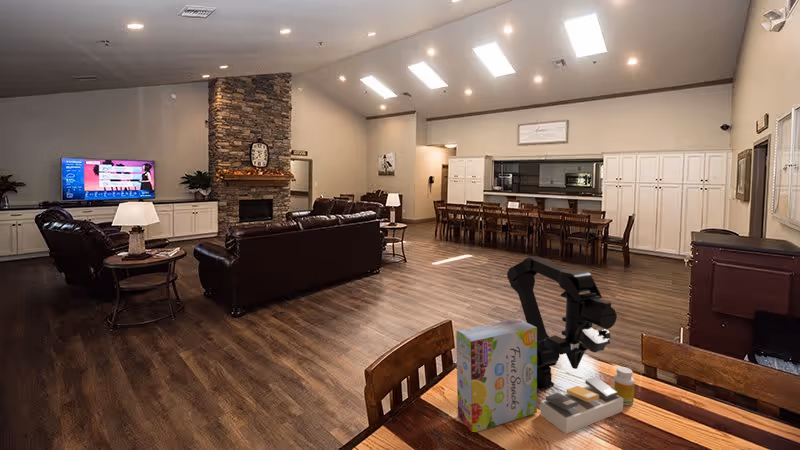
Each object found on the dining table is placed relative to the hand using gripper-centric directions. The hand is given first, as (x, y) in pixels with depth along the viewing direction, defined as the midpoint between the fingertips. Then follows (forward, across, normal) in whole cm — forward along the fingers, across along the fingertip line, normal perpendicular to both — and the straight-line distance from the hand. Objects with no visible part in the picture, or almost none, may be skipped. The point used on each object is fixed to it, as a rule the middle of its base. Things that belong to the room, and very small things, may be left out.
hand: (574, 368), depth 107 cm
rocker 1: (+6, -8, -3) cm, 11 cm away
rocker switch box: (+12, 0, -3) cm, 12 cm away
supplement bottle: (+12, +16, -4) cm, 20 cm away
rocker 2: (+6, +8, -3) cm, 10 cm away
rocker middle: (+6, 0, -3) cm, 7 cm away
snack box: (+12, -22, +6) cm, 26 cm away
